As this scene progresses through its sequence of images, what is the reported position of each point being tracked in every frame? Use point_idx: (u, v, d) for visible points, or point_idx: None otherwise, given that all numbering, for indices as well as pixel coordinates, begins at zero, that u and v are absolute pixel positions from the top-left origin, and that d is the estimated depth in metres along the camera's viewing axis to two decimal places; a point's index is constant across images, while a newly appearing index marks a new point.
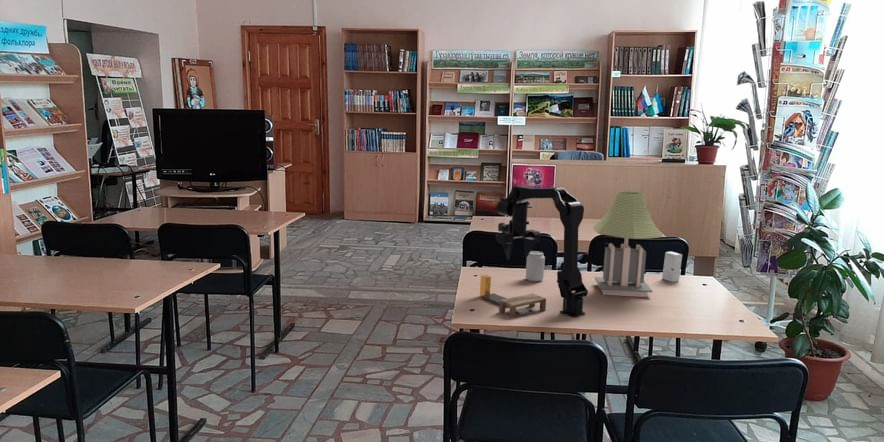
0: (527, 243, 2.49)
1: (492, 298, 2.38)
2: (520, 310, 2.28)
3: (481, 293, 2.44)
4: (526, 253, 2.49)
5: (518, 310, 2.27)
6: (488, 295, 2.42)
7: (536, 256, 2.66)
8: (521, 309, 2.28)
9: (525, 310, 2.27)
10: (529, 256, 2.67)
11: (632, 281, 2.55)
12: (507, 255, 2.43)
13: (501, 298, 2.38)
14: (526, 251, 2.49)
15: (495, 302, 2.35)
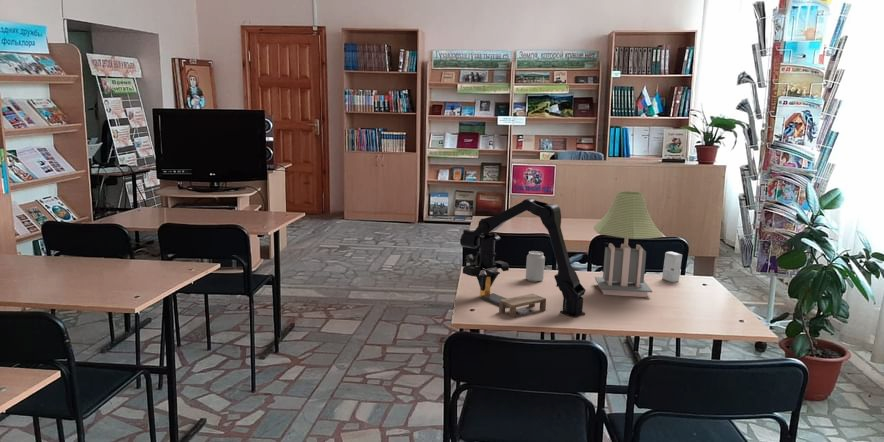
0: None
1: (492, 298, 2.38)
2: (520, 310, 2.28)
3: (481, 293, 2.44)
4: None
5: (518, 310, 2.27)
6: (488, 295, 2.42)
7: (536, 256, 2.66)
8: (521, 309, 2.28)
9: (525, 310, 2.27)
10: (529, 256, 2.67)
11: (632, 281, 2.55)
12: (481, 286, 2.42)
13: (501, 298, 2.38)
14: None
15: (495, 302, 2.35)
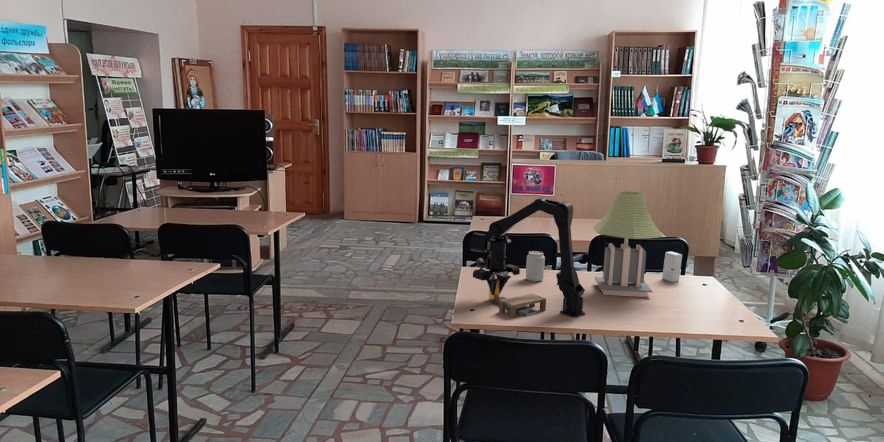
0: None
1: None
2: (522, 310, 2.27)
3: (490, 296, 2.40)
4: None
5: (521, 310, 2.26)
6: (498, 299, 2.37)
7: (536, 256, 2.66)
8: (524, 309, 2.27)
9: (528, 310, 2.26)
10: (529, 256, 2.67)
11: (632, 281, 2.55)
12: (491, 291, 2.38)
13: None
14: None
15: (505, 306, 2.31)
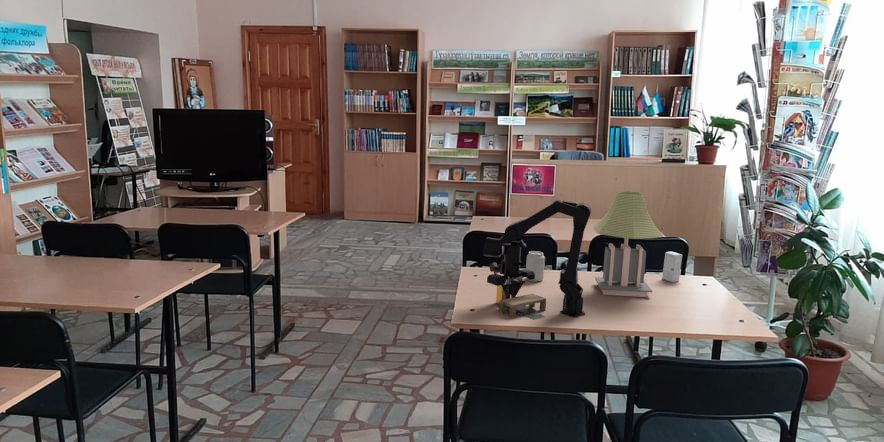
0: (513, 285, 2.33)
1: None
2: (531, 314, 2.23)
3: (497, 299, 2.36)
4: (513, 296, 2.33)
5: (529, 314, 2.23)
6: None
7: (536, 256, 2.66)
8: (532, 313, 2.24)
9: (536, 314, 2.23)
10: (529, 256, 2.67)
11: (632, 281, 2.55)
12: (506, 296, 2.31)
13: None
14: (512, 293, 2.33)
15: None
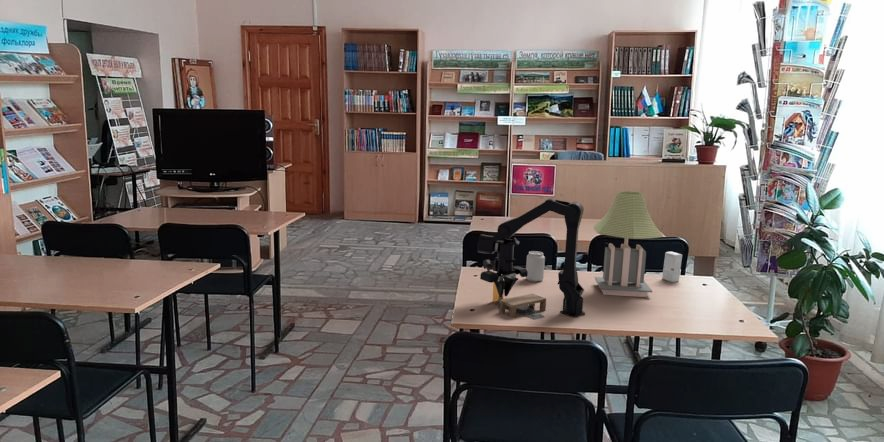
0: (507, 282, 2.35)
1: None
2: (531, 314, 2.23)
3: (494, 298, 2.37)
4: (506, 292, 2.36)
5: (529, 314, 2.23)
6: None
7: (536, 256, 2.66)
8: (532, 313, 2.24)
9: (536, 314, 2.23)
10: (529, 256, 2.67)
11: (632, 281, 2.55)
12: (499, 293, 2.34)
13: None
14: (506, 290, 2.36)
15: None
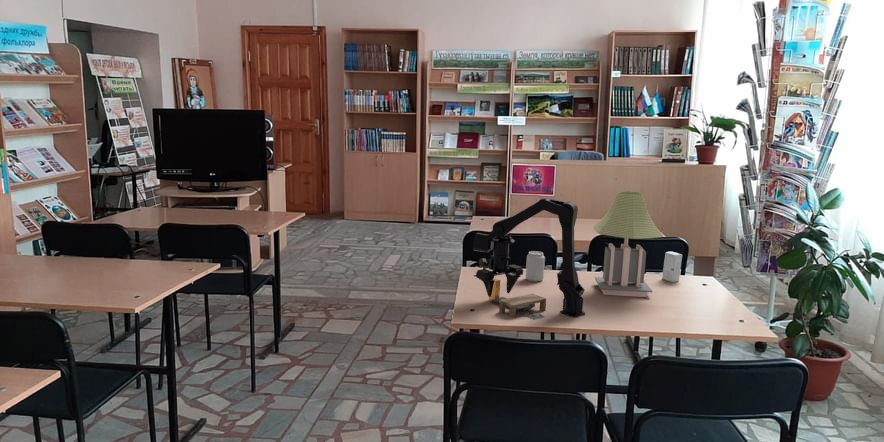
0: (509, 279, 2.39)
1: None
2: (531, 314, 2.23)
3: (490, 297, 2.39)
4: (508, 289, 2.40)
5: (529, 314, 2.23)
6: (498, 299, 2.37)
7: (536, 256, 2.66)
8: (532, 313, 2.24)
9: (536, 314, 2.23)
10: (529, 256, 2.67)
11: (632, 281, 2.55)
12: (488, 292, 2.34)
13: None
14: (508, 287, 2.40)
15: (508, 306, 2.31)
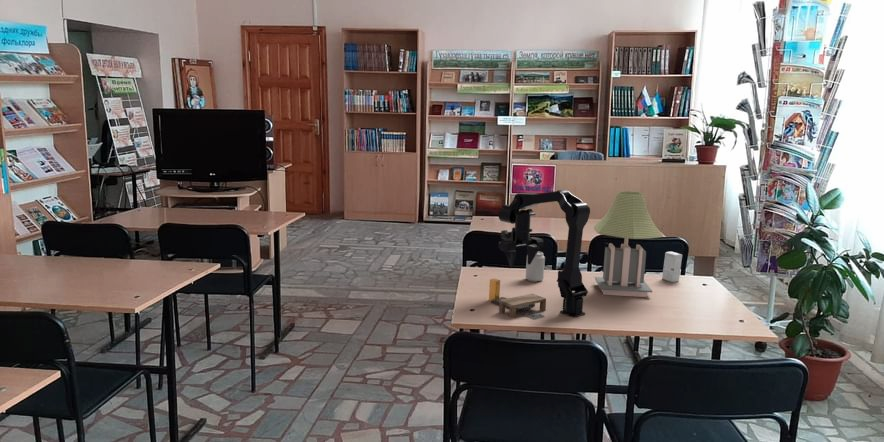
0: (530, 251, 2.46)
1: None
2: (531, 314, 2.23)
3: (490, 297, 2.39)
4: (529, 261, 2.47)
5: (529, 314, 2.23)
6: (498, 299, 2.37)
7: (536, 256, 2.66)
8: (532, 313, 2.24)
9: (536, 314, 2.23)
10: None
11: (632, 281, 2.55)
12: (510, 263, 2.41)
13: None
14: (529, 259, 2.47)
15: (508, 306, 2.31)
